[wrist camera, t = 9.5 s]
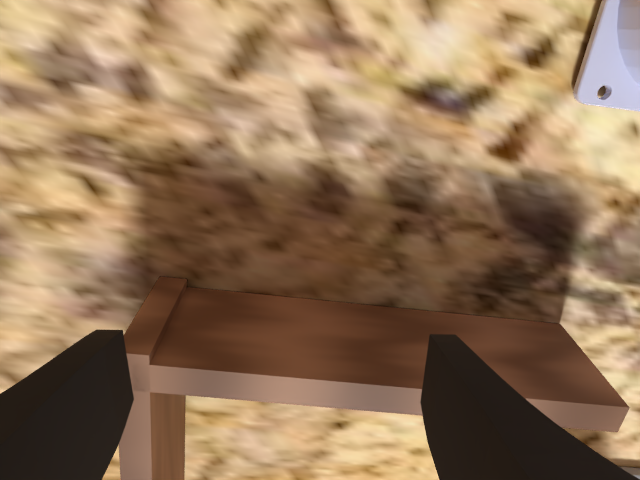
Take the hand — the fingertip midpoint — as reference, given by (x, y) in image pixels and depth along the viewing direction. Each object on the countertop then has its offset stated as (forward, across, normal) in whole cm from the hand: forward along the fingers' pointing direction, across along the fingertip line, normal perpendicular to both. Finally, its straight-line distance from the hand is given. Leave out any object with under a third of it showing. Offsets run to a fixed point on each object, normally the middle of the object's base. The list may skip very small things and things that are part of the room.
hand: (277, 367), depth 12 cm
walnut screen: (+10, -3, +12) cm, 16 cm away
